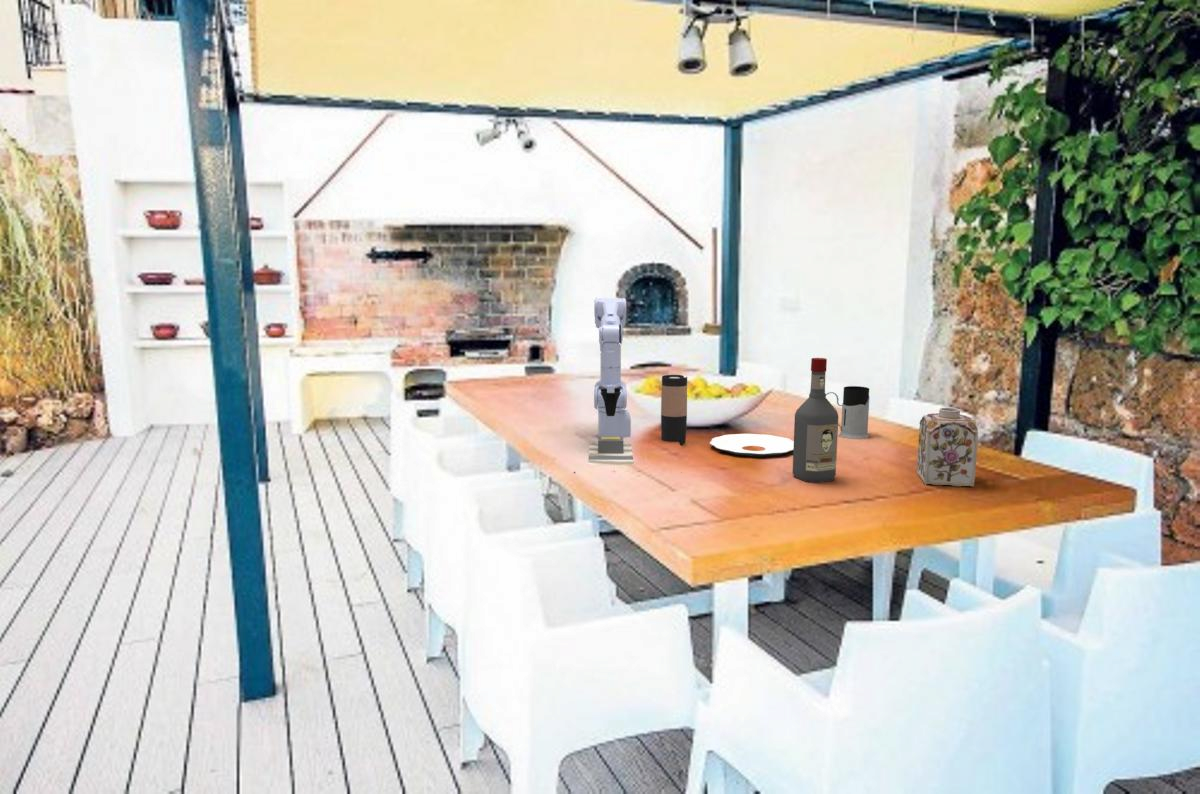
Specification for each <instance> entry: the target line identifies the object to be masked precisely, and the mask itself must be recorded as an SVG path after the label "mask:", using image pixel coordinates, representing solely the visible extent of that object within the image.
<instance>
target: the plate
mask: <svg viewBox="0 0 1200 794" xmlns="http://www.w3.org/2000/svg"><path fill="white" fill-rule="evenodd" d="M709 445H710V446H712V447H714V448H716V449H717V450H720V451H722V452H725V453H727V454H732V455H737V456H743V457H744V456H745V457H775V456H781V455H784V454H787V453H790V452H793V448H794V440H791V439H790V438H789V437H784V436H777V435H772V434H759V433H758V434H755V433H735V434H733V433H732V434H723V435H721V436H716V437H713V438H712V439H711V441H710V442H709ZM751 446H752V447H761V448H764V450H748V449H744V447H751Z"/></svg>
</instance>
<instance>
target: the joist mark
mask: <svg viewBox="0 0 1200 794" xmlns="http://www.w3.org/2000/svg"><path fill="white" fill-rule="evenodd" d="M587 460H634V455H633V456H589V455H588V459H587Z"/></svg>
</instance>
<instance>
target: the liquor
mask: <svg viewBox="0 0 1200 794" xmlns="http://www.w3.org/2000/svg"><path fill="white" fill-rule="evenodd" d="M810 360H811V361H810V363H811V364H810V372H811V375H810V376H811V378H810V389H809V390H810V392H809V394H808V398H807V399H806V400H805V401H804V402H803V403H802V404H800V406H799V407H798V408H797V409H796V410H795V414H794V428H793V441H794V448H793V451H792V452H793V454H792V475H793V478H796V479H799V480H801V481H804V482H805V483H816V484H817V483H825V482H832V481H833V480H834V478H835V476H836V475H837V453H838V452H837V451H838V436H839V433H838V431H839V425H838V424H839V416H840V415H839V414H838V410H837V409H836V408H835V407H834V406H833V404H832V403H831V402H830V401H829V399H828V398H827V397H826V396H827V395H826V394H827V393H826V373H827V363H828V359H827V358H824V357H813V358H812V357H811V359H810Z"/></svg>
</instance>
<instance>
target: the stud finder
mask: <svg viewBox="0 0 1200 794" xmlns="http://www.w3.org/2000/svg"><path fill="white" fill-rule="evenodd" d="M624 441H625V440H624V437H599V436H597V444H598V453H623V444H624V443H625V442H624Z"/></svg>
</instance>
